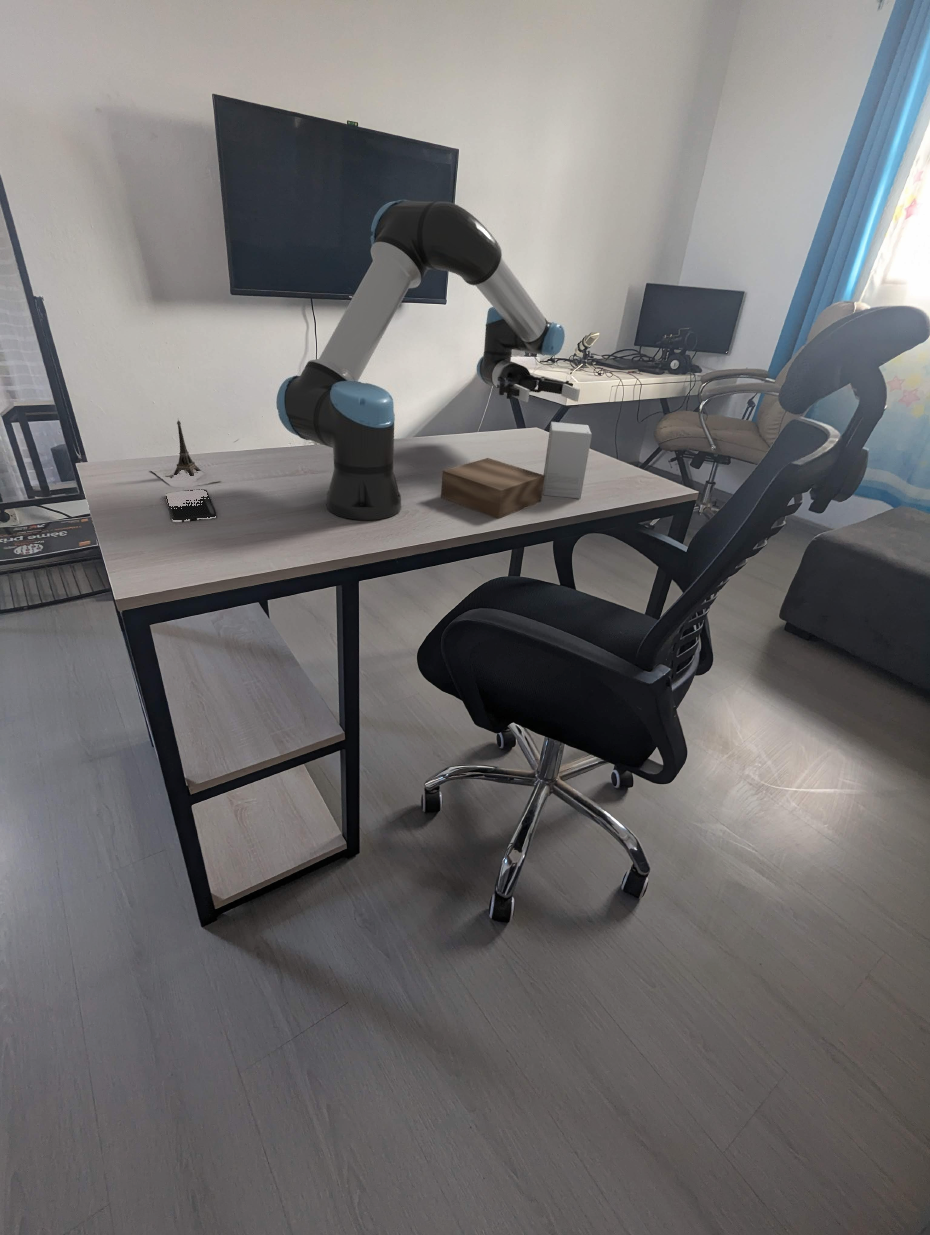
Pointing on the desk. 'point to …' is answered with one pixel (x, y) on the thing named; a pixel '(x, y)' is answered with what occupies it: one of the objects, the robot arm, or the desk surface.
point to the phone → (193, 509)
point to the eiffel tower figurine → (184, 456)
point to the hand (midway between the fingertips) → (553, 395)
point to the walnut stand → (492, 487)
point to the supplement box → (566, 459)
